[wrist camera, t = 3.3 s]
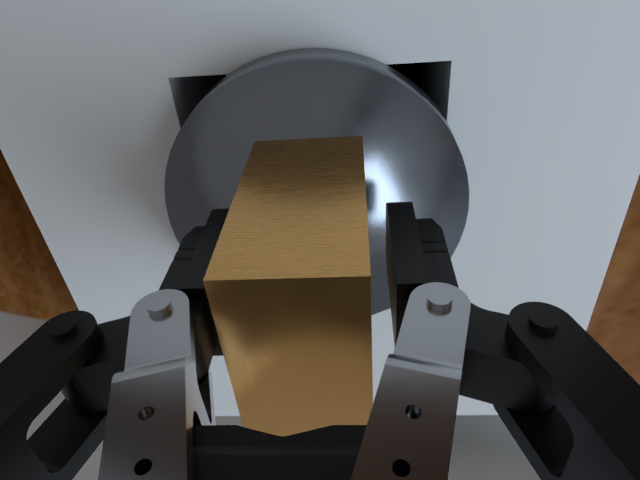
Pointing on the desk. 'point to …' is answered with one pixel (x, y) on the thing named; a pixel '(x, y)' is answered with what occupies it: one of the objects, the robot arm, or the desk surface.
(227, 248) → the end cap
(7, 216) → the desk surface
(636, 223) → the desk surface
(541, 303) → the robot arm
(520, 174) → the housing
